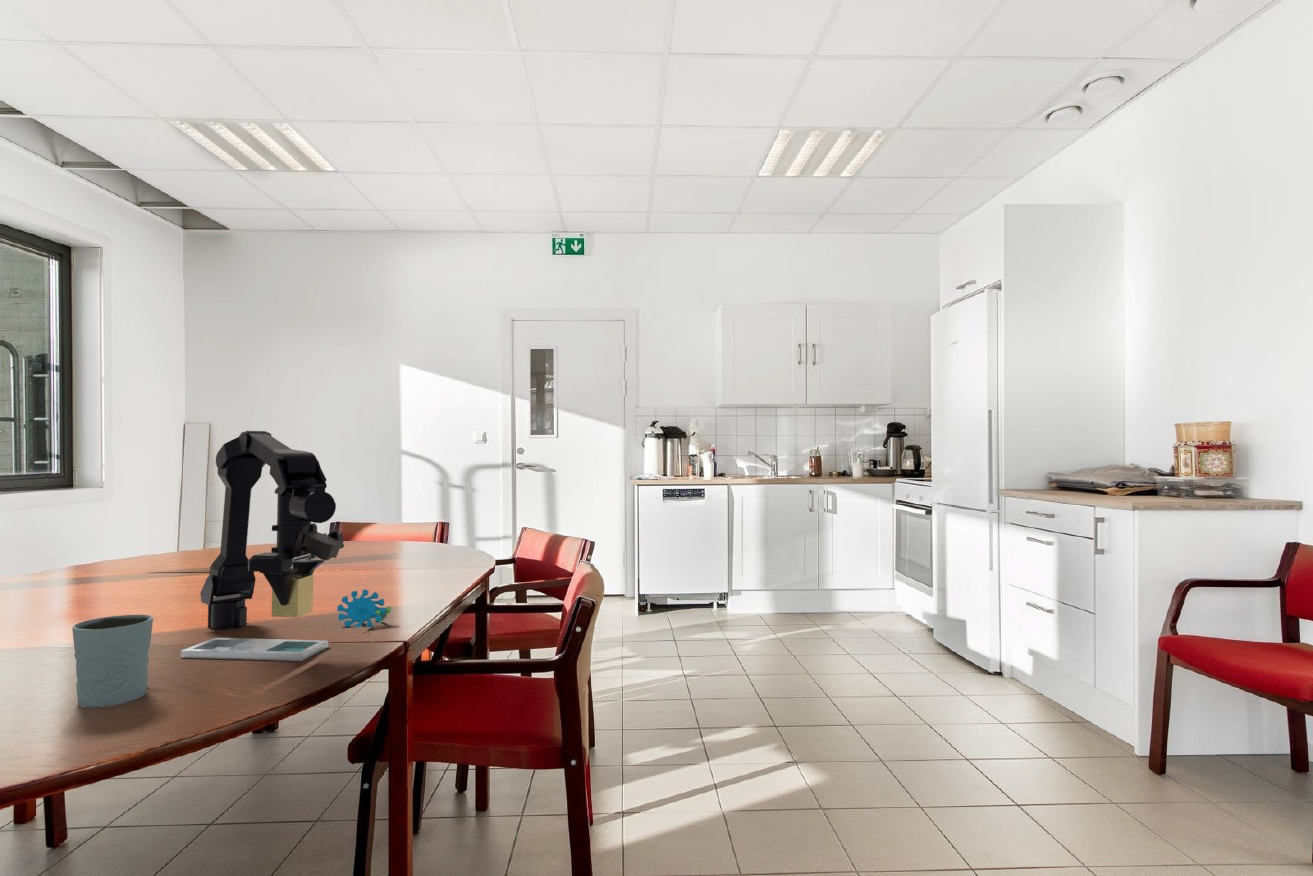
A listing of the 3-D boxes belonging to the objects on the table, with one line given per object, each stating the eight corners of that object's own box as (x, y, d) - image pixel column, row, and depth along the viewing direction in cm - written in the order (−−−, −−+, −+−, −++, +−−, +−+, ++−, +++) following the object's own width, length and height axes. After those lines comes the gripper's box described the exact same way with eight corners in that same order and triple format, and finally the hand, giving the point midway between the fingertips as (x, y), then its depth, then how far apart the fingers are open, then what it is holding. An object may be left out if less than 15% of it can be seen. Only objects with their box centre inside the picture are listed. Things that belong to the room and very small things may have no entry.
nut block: (271, 616, 131) (272, 577, 131) (287, 610, 136) (288, 572, 136) (297, 617, 131) (298, 578, 131) (312, 611, 136) (313, 573, 136)
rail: (180, 661, 130) (180, 650, 130) (214, 647, 139) (214, 637, 139) (301, 665, 128) (302, 654, 128) (328, 651, 137) (328, 640, 137)
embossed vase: (86, 714, 104) (88, 632, 104) (59, 701, 110) (60, 623, 110) (163, 694, 113) (165, 619, 113) (134, 683, 118) (136, 610, 118)
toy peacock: (332, 625, 151) (342, 585, 158) (332, 639, 154) (341, 600, 162) (387, 629, 154) (394, 590, 161) (385, 643, 158) (392, 604, 165)
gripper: (308, 525, 124) (306, 615, 123) (359, 515, 142) (358, 593, 142) (246, 524, 124) (245, 613, 124) (306, 514, 143) (304, 591, 143)
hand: (292, 602), depth 133 cm, fingers closed on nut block, 5 cm apart
